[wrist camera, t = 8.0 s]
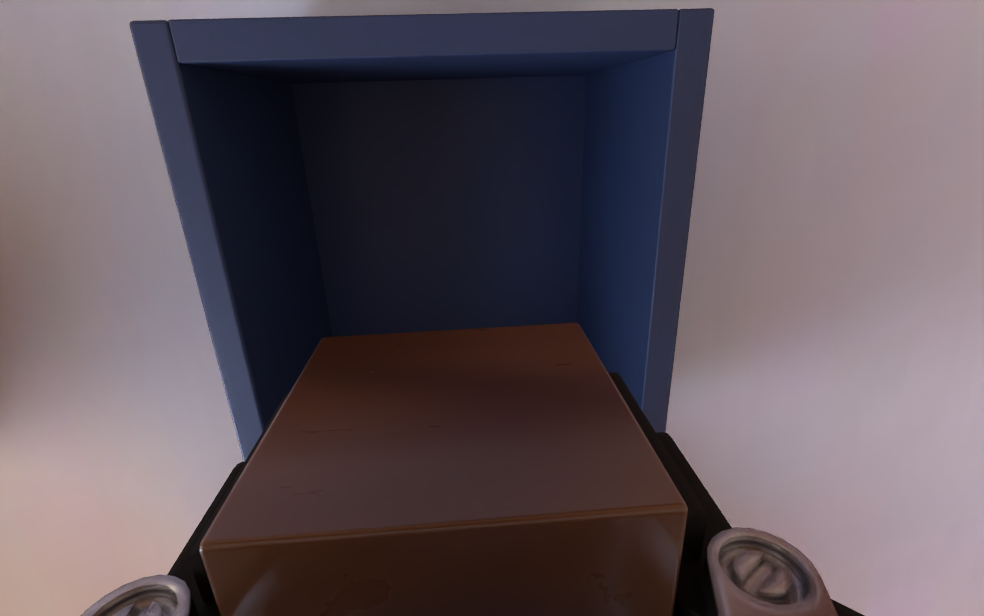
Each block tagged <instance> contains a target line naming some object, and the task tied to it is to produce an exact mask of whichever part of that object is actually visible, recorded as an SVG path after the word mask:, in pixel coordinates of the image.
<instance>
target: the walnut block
mask: <svg viewBox="0 0 984 616" xmlns="http://www.w3.org/2000/svg"><path fill="white" fill-rule="evenodd" d="M687 514H688V508H687V505H686V503H685V501H684V500H683V498H682V496H681V495H680V493H679V491H678V490H677V488H676V486H675V485H674V483H673V481H672V480H671V478H670V476H669V475H668V473H667V471H666V469H665V468H664V466H663V464H662V463H661V461H660V459H659V458H658V456H657V454H656V453H655V451H654V449H653V448H652V446H651V444H650V443H649V441H648V439H647V437H646V436H645V434H644V432H643V431H642V429H641V427H640V426H639V424H638V422H637V421H636V419H635V417H634V416H633V414H632V412H631V411H630V409H629V407H628V405H627V404H626V402H625V400H624V399H623V397H622V395H621V394H620V392H619V390H618V389H617V387H616V385H615V384H614V382H613V380H612V379H611V377H610V375H609V374H608V372H607V370H606V368H605V367H604V365H603V363H602V362H601V360H600V358H599V357H598V355H597V353H596V352H595V350H594V348H593V347H592V345H591V343H590V342H589V340H588V338H587V336H586V335H585V333H584V331H583V330H582V328H581V326H580V325H579V324H578V323H561V324H543V325H526V326H509V327H492V328H475V329H458V330H441V331H423V332H406V333H389V334H372V335H355V336H338V337H324V338H322V339H321V340H320V342H319V344H318V346H317V347H316V349H315V351H314V352H313V354H312V356H311V357H310V359H309V361H308V362H307V364H306V366H305V367H304V369H303V371H302V372H301V374H300V376H299V377H298V379H297V381H296V383H295V384H294V386H293V388H292V389H291V391H290V393H289V394H288V396H287V398H286V399H285V401H284V403H283V404H282V406H281V408H280V409H279V411H278V413H277V415H276V416H275V418H274V420H273V421H272V423H271V425H270V426H269V428H268V430H267V431H266V433H265V435H264V436H263V438H262V440H261V441H260V443H259V445H258V447H257V448H256V450H255V452H254V453H253V455H252V457H251V458H250V460H249V462H248V463H247V465H246V467H245V468H244V470H243V472H242V473H241V475H240V477H239V479H238V480H237V482H236V484H235V485H234V487H233V489H232V490H231V492H230V494H229V495H228V497H227V499H226V500H225V502H224V504H223V505H222V507H221V509H220V510H219V512H218V514H217V516H216V517H215V519H214V521H213V522H212V524H211V526H210V527H209V529H208V531H207V532H206V534H205V536H204V537H203V539H202V541H201V543H200V551H199V552H200V555H201V558H202V561H203V564H204V567H205V570H206V573H207V576H208V579H209V582H210V585H211V588H212V591H213V594H214V597H215V600H216V603H217V606H218V609H219V612H220V615H221V616H673V613H674V606H675V598H676V591H677V584H678V577H679V570H680V563H681V556H682V549H683V542H684V535H685V528H686V521H687Z"/></svg>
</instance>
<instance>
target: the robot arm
mask: <svg viewBox="0 0 984 616" xmlns="http://www.w3.org/2000/svg"><path fill="white" fill-rule="evenodd" d="M608 374H609V375H610V377H611V379H612V380H613V382H614V384H615V385H616V387H617V389H618V390H619V392H620V394H621V395H622V397H623V399H624V400H625V402H626V404H627V405H628V407H629V409H630V411H631V412H632V414H633V416H634V417H635V419H636V421H637V422H638V424H639V426H640V427H641V429H642V431H643V432H644V434H645V436H646V437H647V439H648V441H649V443H650V444H651V446H652V448H653V449H654V451H655V453H656V454H657V456H658V458H659V459H660V461H661V463H662V464H663V466H664V468H665V469H666V471H667V473H668V475H669V476H670V478H671V480H672V481H673V483H674V485H675V486H676V488H677V490H678V491H679V493H680V495H681V496H682V498H683V500H684V501H685V503H686V505H687V508H688V514H687V521H686V528H685V535H684V542H683V549H682V556H681V563H680V570H679V577H678V584H677V591H676V598H675V606H674V613H673V616H864V615H862V614H860V613H858V612H856V611H854V610H852V609H850V608H848V607H846V606H844V605H842V604H840V603H838V602H836V601H834V600H832V599H830V596H829V594H828V592H827V590H826V587H825V585H824V583H823V581H822V579H821V576H820V575H819V573H818V572H817V570H816V568H815V567H814V565H813V564H812V562H811V561H810V560H809V559H808V558H807V557H806V556H805V555H804V554H803V553H802V552H801V551H799V550H798V549H797V548H795V547H794V546H792V545H791V544H789V543H788V542H786V541H785V540H783V539H781V538H779V537H776V536H774V535H772V534H770V533H767V532H764V531H760V530H755V529H751V528H732V527H731V526H730V524H729V523H728V522H727V520H726V519H725V517H724V516H723V514H722V513H721V511H720V510H719V508H718V507H717V505H716V504H715V502H714V501H713V499H712V498H711V496H710V495H709V493H708V492H707V490H706V489H705V487H704V486H703V484H702V483H701V481H700V480H699V478H698V477H697V475H696V474H695V472H694V471H693V469H692V468H691V466H690V465H689V463H688V462H687V460H686V459H685V457H684V456H683V454H682V453H681V451H680V450H679V448H678V447H677V445H676V444H675V442H674V441H673V439H672V438H671V437H670V436H669V435H668V434H667V433H665V432H657V433H656V432H655V430H654V429H653V427H652V426H651V424H650V422H649V421H648V419H647V418H646V416H645V415H644V413H643V411H642V410H641V408H640V407H639V405H638V403H637V402H636V400H635V399H634V397H633V396H632V394H631V392H630V391H629V389H628V388H627V386H626V384H625V383H624V381H623V380H622V378H621V376H620V375H619V374H618V373H617V372H612V373H608ZM288 394H289V393H287V394H286V395H285V396H284V398H283V399H282V401H281V403H280V404H279V406H278V407H277V409H276V411H275V412H274V414H273V416H272V417H271V419H270V421H269V422H268V424H267V426H266V427H265V429H264V431H263V432H262V434H261V436H260V437H259V439H258V441H257V442H256V444H255V445H254V447H253V449H252V450H251V452H250V454H249V455H248V457H247V459H246V460H245V462H241V463H239V464H237V465H236V467H235V468H234V469H233V470H232V472H231V474H230V475H229V477H228V478H227V480H226V482H225V483H224V485H223V486H222V488H221V490H220V491H219V493H218V494H217V496H216V498H215V499H214V501H213V502H212V504H211V506H210V507H209V509H208V511H207V512H206V514H205V515H204V517H203V519H202V520H201V522H200V523H199V525H198V527H197V528H196V530H195V531H194V533H193V535H192V536H191V538H190V539H189V541H188V543H187V544H186V546H185V547H184V549H183V551H182V552H181V554H180V555H179V557H178V559H177V560H176V562H175V563H174V565H173V567H172V568H171V570H170V571H169V573H168V575H155V576H150V577H144V578H141V579H138V580H135V581H133V582H130V583H127V584H125V585H123V586H121V587H119V588H117V589H116V590H114V591H112V592H110V593H108V594H107V595H105V596H104V597H102V598H101V599H100V600H98V601H97V602H96V603H94V604H93V605H92V606H91V607H89V608H88V609H87V610H86V611H85V612H84V613H83V614H82V615H81V616H221V615H220V612H219V609H218V606H217V603H216V600H215V597H214V594H213V591H212V588H211V585H210V582H209V579H208V576H207V573H206V570H205V567H204V564H203V561H202V558H201V555H200V552H199V551H200V543H201V541H202V539H203V537H204V536H205V534H206V532H207V531H208V529H209V527H210V526H211V524H212V522H213V521H214V519H215V517H216V516H217V514H218V512H219V510H220V509H221V507H222V505H223V504H224V502H225V500H226V499H227V497H228V495H229V494H230V492H231V490H232V489H233V487H234V485H235V484H236V482H237V480H238V479H239V477H240V475H241V473H242V472H243V470H244V468H245V467H246V465H247V463H248V462H249V460H250V458H251V457H252V455H253V453H254V452H255V450H256V448H257V447H258V445H259V443H260V441H261V440H262V438H263V436H264V435H265V433H266V431H267V430H268V428H269V426H270V425H271V423H272V421H273V420H274V418H275V416H276V415H277V413H278V411H279V409H280V408H281V406H282V404H283V403H284V401H285V399H286V398H287V396H288Z"/></svg>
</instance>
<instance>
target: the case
mask: <svg viewBox="0 0 984 616" xmlns="http://www.w3.org/2000/svg"><path fill="white" fill-rule="evenodd" d="M713 18H714V9H712V8H703V9H680V10H678V9H652V10H604V11H557V12H510V13H462V14H415V15H368V16H320V17H273V18H226V19H178V20H169V21H166V20H148V21H132V22H130V29H131V33H132V37H133V41H134V45H135V48H136V52H137V56H138V60H139V64H140V67H141V71H142V75H143V79H144V83H145V86H146V90H147V94H148V98H149V102H150V106H151V109H152V113H153V117H154V121H155V125H156V128H157V132H158V136H159V140H160V144H161V147H162V151H163V155H164V159H165V163H166V166H167V170H168V174H169V178H170V182H171V186H172V189H173V193H174V197H175V201H176V205H177V208H178V212H179V216H180V220H181V224H182V227H183V231H184V235H185V239H186V243H187V247H188V250H189V254H190V258H191V262H192V266H193V269H194V273H195V277H196V281H197V285H198V288H199V292H200V296H201V300H202V304H203V308H204V311H205V315H206V319H207V323H208V327H209V330H210V334H211V338H212V342H213V346H214V349H215V353H216V357H217V361H218V365H219V369H220V372H221V376H222V380H223V384H224V388H225V391H226V395H227V399H228V403H229V407H230V410H231V414H232V418H233V422H234V426H235V430H236V433H237V437H238V441H239V445H240V449H241V452H242V456H243V460H244V462H245V460H246V459H247V457H248V455H249V454H250V452H251V450H252V449H253V447H254V445H255V444H256V442H257V441H258V439H259V437H260V436H261V434H262V432H263V431H264V429H265V427H266V426H267V424H268V422H269V421H270V419H271V417H272V416H273V414H274V412H275V411H276V409H277V407H278V406H279V404H280V403H281V401H282V399H283V398H284V396H285V395H286V394H287V393H290V391H291V389H292V388H293V386H294V384H295V383H296V381H297V379H298V377H299V376H300V374H301V372H302V371H303V369H304V367H305V366H306V364H307V362H308V361H309V359H310V357H311V356H312V354H313V352H314V351H315V349H316V347H317V346H318V344H319V342H320V340H321V339H322V338H324V337H338V336H355V335H372V334H389V333H406V332H423V331H441V330H458V329H475V328H492V327H509V326H526V325H543V324H561V323H578V324H579V325H580V326H581V328H582V330H583V331H584V333H585V335H586V336H587V338H588V340H589V342H590V343H591V345H592V347H593V348H594V350H595V352H596V353H597V355H598V357H599V358H600V360H601V362H602V363H603V365H604V367H605V368H606V370H607V372H608V373H612V372H617V373H618V374H619V375H620V376H621V378H622V380H623V381H624V383H625V384H626V386H627V388H628V389H629V391H630V392H631V394H632V396H633V397H634V399H635V400H636V402H637V403H638V405H639V407H640V408H641V410H642V411H643V413H644V415H645V416H646V418H647V419H648V421H649V422H650V424H651V426H652V427H653V429H654V430H655V432H656V433H657V432H665V429H666V421H667V412H668V404H669V395H670V386H671V378H672V369H673V361H674V352H675V344H676V335H677V326H678V318H679V309H680V301H681V292H682V284H683V275H684V266H685V258H686V249H687V241H688V232H689V223H690V215H691V206H692V198H693V189H694V181H695V172H696V163H697V155H698V146H699V138H700V129H701V121H702V112H703V103H704V95H705V86H706V78H707V69H708V60H709V52H710V43H711V35H712V26H713Z"/></svg>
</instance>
